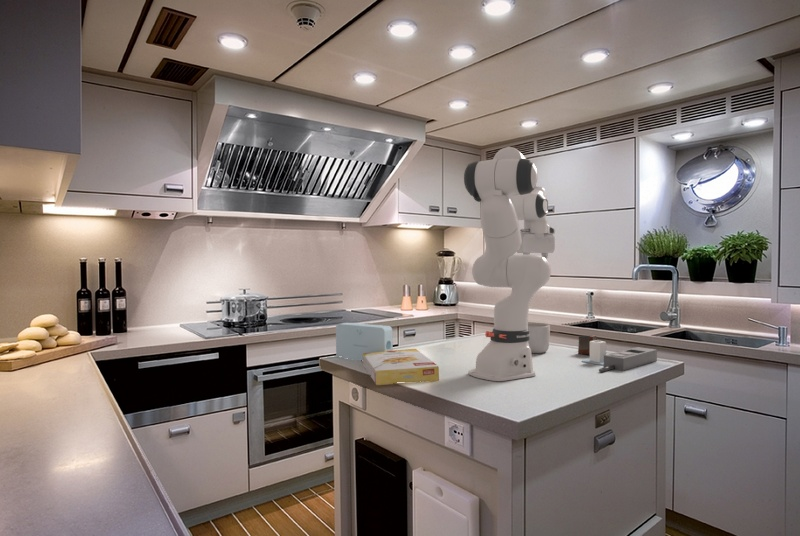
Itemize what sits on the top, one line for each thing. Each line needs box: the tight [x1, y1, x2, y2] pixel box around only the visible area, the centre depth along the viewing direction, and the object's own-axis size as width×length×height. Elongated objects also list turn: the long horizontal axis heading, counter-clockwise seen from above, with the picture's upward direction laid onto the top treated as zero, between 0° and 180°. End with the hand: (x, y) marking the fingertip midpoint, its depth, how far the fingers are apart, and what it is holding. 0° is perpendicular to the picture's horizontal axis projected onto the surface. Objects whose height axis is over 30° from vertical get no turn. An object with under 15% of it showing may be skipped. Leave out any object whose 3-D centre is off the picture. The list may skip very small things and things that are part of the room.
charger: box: [589, 339, 607, 362], centre depth 175 cm, size 4×4×7 cm
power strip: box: [598, 346, 658, 373], centre depth 169 cm, size 33×7×4 cm, turn 128°
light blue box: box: [335, 322, 394, 361], centre depth 183 cm, size 23×6×13 cm, turn 56°
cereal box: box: [362, 348, 440, 386], centre depth 162 cm, size 20×6×28 cm
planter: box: [528, 322, 551, 354], centre depth 195 cm, size 12×12×11 cm
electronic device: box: [577, 335, 598, 356], centre depth 188 cm, size 4×10×8 cm, turn 44°
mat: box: [581, 358, 604, 366], centre depth 175 cm, size 8×8×1 cm
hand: (535, 264), depth 189 cm, fingers open, 8 cm apart
